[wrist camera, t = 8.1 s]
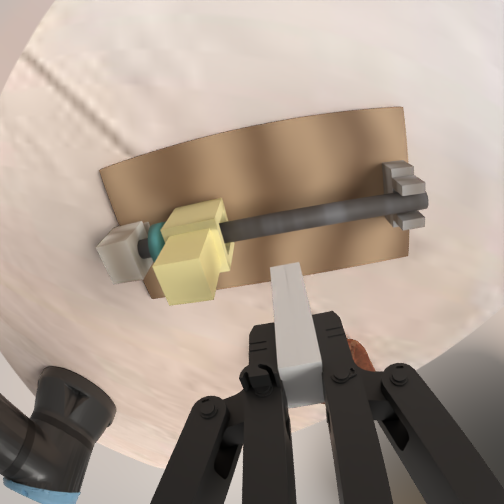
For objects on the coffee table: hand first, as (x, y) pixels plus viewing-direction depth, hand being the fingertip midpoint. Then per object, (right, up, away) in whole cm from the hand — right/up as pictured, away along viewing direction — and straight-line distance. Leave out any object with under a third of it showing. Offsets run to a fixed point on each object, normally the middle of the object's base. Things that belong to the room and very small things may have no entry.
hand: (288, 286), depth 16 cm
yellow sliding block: (-6, +4, +9) cm, 12 cm away
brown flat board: (-1, +5, +10) cm, 11 cm away
